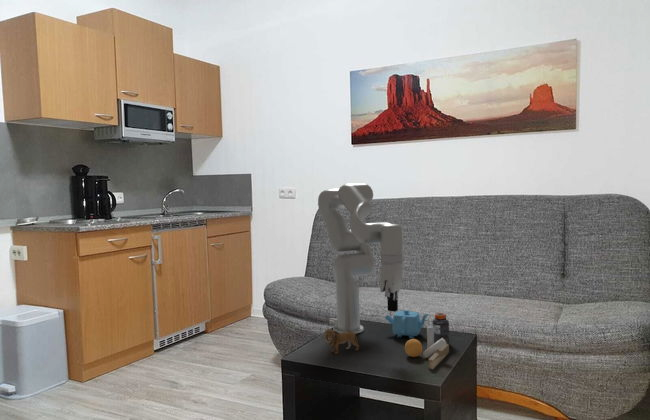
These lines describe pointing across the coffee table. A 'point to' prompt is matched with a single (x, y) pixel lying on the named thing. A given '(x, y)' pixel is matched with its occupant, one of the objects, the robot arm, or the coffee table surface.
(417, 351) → the ball
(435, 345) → the white pin
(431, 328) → the grey pin
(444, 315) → the pill bottle
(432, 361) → the tan wooden bar
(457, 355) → the coffee table surface
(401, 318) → the teapot
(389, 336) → the coffee table surface
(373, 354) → the coffee table surface
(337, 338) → the lion figurine
